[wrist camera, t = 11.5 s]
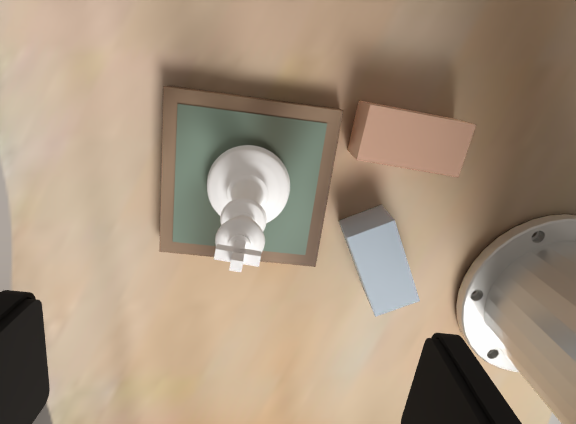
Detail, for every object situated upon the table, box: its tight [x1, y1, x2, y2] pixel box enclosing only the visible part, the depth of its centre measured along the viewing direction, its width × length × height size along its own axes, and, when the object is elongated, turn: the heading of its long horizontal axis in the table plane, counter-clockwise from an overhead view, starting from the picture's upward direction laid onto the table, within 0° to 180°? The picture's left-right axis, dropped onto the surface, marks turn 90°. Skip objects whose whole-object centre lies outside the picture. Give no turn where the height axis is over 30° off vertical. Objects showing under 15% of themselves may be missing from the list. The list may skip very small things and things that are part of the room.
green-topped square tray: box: [160, 86, 343, 267], centre depth 24 cm, size 10×10×1 cm
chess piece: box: [207, 145, 290, 272], centre depth 18 cm, size 5×5×10 cm
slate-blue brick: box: [339, 205, 420, 317], centre depth 25 cm, size 6×3×3 cm, turn 21°
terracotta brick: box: [347, 100, 476, 177], centre depth 23 cm, size 6×3×3 cm, turn 80°
